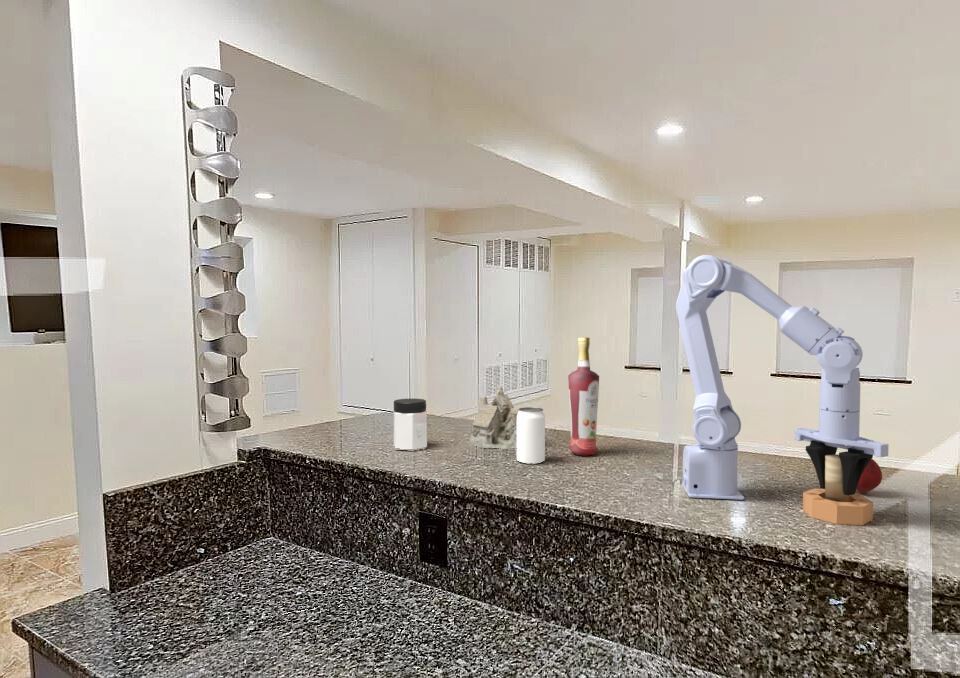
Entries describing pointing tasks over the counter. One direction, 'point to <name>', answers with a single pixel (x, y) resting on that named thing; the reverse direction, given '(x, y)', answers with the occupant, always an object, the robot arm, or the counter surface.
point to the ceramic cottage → (495, 423)
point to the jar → (410, 423)
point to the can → (530, 435)
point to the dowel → (834, 479)
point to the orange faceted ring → (838, 508)
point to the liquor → (583, 403)
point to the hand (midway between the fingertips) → (837, 491)
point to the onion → (870, 477)
